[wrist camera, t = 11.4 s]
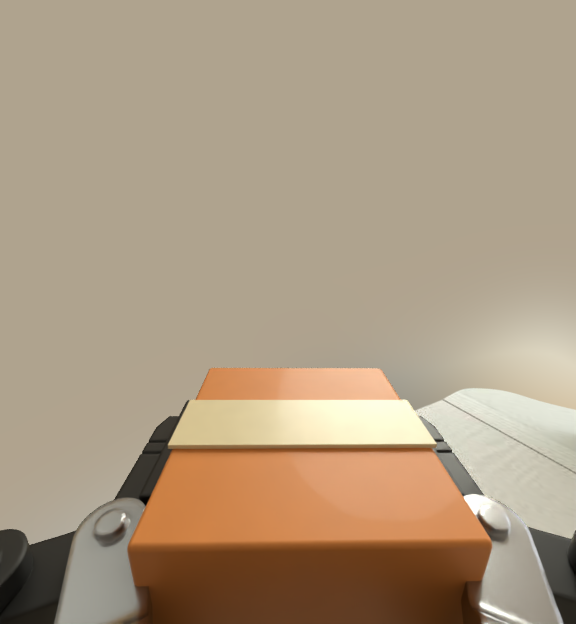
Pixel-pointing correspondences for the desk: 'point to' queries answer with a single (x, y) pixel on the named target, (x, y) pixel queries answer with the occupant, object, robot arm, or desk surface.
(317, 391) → the package
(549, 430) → the desk surface
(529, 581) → the robot arm
